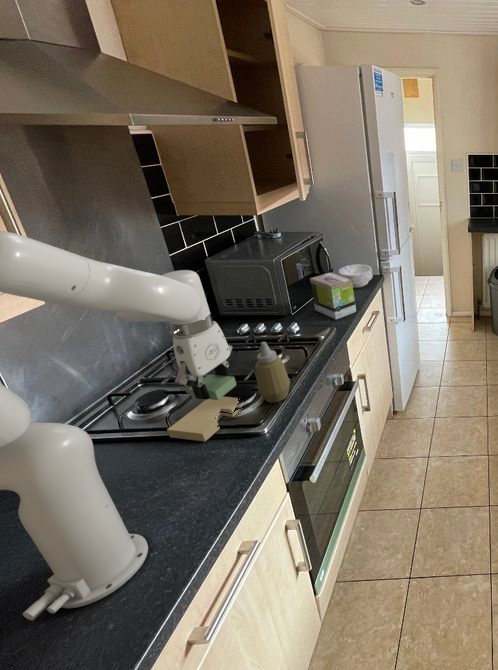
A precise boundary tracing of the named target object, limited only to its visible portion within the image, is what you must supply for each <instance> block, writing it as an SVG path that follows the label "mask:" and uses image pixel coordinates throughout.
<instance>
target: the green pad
mask: <svg viewBox="0 0 498 670" xmlns="http://www.w3.org/2000/svg"><path fill="white" fill-rule="evenodd" d="M194 381H196V376H194ZM203 384H205V385H206V387H207V390H208V394H209V397H210V398H209V399H212V400H219V399H220V398H221V397H222V396H223V397H225V396H226V394H228V393H229V392H230V391H231V390H233V389H234V388H235V387H236V386H238V385H237V381H236V378H235V376H231V375H230V376H220V375H216V374H207V375H206V376H203ZM183 387H184V390H185V392H186V393H187V394H190V396H191V398H194V399H197V398H196V397H195V395H194V392H193V389H192V386H187V385H183Z"/></svg>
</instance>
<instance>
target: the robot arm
mask: <svg viewBox="0 0 498 670" xmlns="http://www.w3.org/2000/svg"><path fill="white" fill-rule="evenodd" d="M200 278H201V277H200V276H199V274H198V273H197V272H195V271H194V270H190V269H181V270H180V269H179V270H174V271H170V272H166V273H163V274H157V273H153V272H147V271H143V270H138V269H134V268H130V267H126V266H122V265H118V264H113V263H109V262H103V261H99V260H96V259H91V258H88V257H86V256H83V255H80V254H77V253H74V252H71V251H69V250H66V249H63V248H60V247H56V246H53V245H51V244H48V243H45V242H42V241H39V240H37V239H33V238H31V237H27V236H25V235H21V234H18V233H14V232H11V231H4V230H0V293H1V294H7V295H11V296H16V297H22V298H27V299H31V300H36V301H40V302H45V303H49V304H53V305H58V306H62V307H66V308H71V309H80V310H90V311H107V312H108V311H110V312H111V311H113V312H114V313H115V314H116V316H118V317H119V318H120V319H123V320H124V321H127V322H132V323H133V322H135V323H169V326H170V328H171V330H169V331H168V334H169V335H170V336H171V337H172V346H173V352H174V357H175V360H176V364H177V367H178V372H177V374H176V377H175V380H174V383H175V384H176V385H177V384H178V385H182V386H184V385H187V386H192V389H193V392H194V395H195V397H196V398H195V399H198V400H204V401H205V400H207V399H209V398H210V397H209V394H208V390H207V387H206V385H205V384H203V377H204V376H205V375H206V374H208V373H209V372H211V371H212V370H214V374H215V375H220V376H231V375H230V371H229V367H230V363H229V361H230V358H231V353H232V351H233V345H230V344H228V341H227V339H226V337H225V334H224V332H223V330H222V329H221V327H220V325H219V324H218V322H216V321H215V320H213V316H212V313H211V311H210V307H209V304H208V301H207V296H206V293H205V290H204V288H203V287H204V286H203V285H202V281H201V279H200ZM194 377H196V381H194ZM31 419H32V415H31V409H30V407H29V405H28V404H27V402H26V401H25V400H24V399H23V398H22V397H21V396H20V395H18V394H17V393H16V392H14V391H13V390H11V389H9V388H8V387H7V386H6V385H4V384H2V383H1V382H0V491H12V492H14V493H16V494H17V495H18V496H19V505H18V509H17V511H18V512H17V514H18V518H19V521H20V522H21V524H22V526H23V528H24V529H25V531H26V532H27V533H28V535H29V536H30V538H31V540H32V541H33V543H34V544H35V546H36V548H37V550H38V551H39V553H40V554H41V556H42V557H43V559H44V560H45V563H47V565H48V567H49V568H50V570H51V571H52V573H53V575H51V576H50V577H49V578H48V579H47V583H48V584H49V585H50V586H48V588H46V589H45V590H44V594H43V595H42V596H41V597H40V598H39V599H38V600H36V601H34V602H33V603H32V604H31V605H30V606H29V607H28V608H27V609H26V610H25V611H23V612H22V616H23V617H24V618H26V619H27V620H29V621H35V620H36V618H38V617H39V616H40V615H41V614H42V613H43V612H44V611H45V610H46V611H47V612H48V613H50V614H55V613H56V612H57V611H59V610H60V608H63V609H75V608H80V607H84V606H87V605H90V604H92V603H96V602H98V601H99V600H102V599H103V598H105V597H107V596H109V595H110V594H112V593H114V592H115V591H117V590H118V589H119V588H121V587H122V586H123V585H125V584H126V583H127V582H128V581H129V580H130V579H131V578H132V577H133V576H134V575H135V574H136V573H137V572H138V571H139V569H140V568H141V567H142V566H143V564H144V562H145V561H146V558H147V556H148V553H149V545H148V542H147V539H146V538H145V537H144V536H142V535H140V534H137V533H129V531H128V529H127V527H126V525H125V523H124V521H123V519H122V517H121V515H120V512H119V511H118V509H117V507H116V505H115V503H114V501H113V498H112V497H111V495H110V493H109V491H108V489H107V487H106V486H105V484H104V481H103V479H102V476H101V474H100V471H99V470H98V467H97V463H96V456H95V448H94V443H93V440H92V438H91V436H90V435H89V433H88V432H87V431H85V430H84V429H83V428H80V427H79V426H75V425H72V424H68V423H62V422H31Z"/></svg>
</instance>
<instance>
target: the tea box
mask: <svg viewBox="0 0 498 670" xmlns="http://www.w3.org/2000/svg"><path fill="white" fill-rule="evenodd" d="M309 282H310V288H311V292H312V293H311V294H312V299H313V305H314V309H315V311H316V312H318V313H321V314H323V315H324V316H327V317H329V318H331V319H334V320H339V319H342V318H344V317H347V316H349V315H352V314H354V313H356V312H357V307H356V300H355V293H354V292H355V291H354V288H353V285H352V279H349V278H346V277H343V276H340V275H338V273H335V272H331V271H329V272H327V273H324V274H323V273H322V274H320V275H317V276H313V277H310V278H309Z"/></svg>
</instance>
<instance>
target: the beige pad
mask: <svg viewBox="0 0 498 670" xmlns="http://www.w3.org/2000/svg"><path fill="white" fill-rule="evenodd" d="M238 398H239V397H231V396H222V397H221V398H220V399H219V400H212V399H207V400H205V399H204V401H202V402H201V403H200V404H198V405H197V406H196V407H194V408H193V409H192V410H191V411H189V412H188V413H186V414H185V415H184V416H183V417H182V418H180V419H179V420H177V421H176V422H175V423H173V424H172V425H171V426H170V427H168V428H167V429H166V432H167V433H168V436H169V438H172V439H179V440H180V439H181V440H190V441H197V442H198V441H199V442H206V441H208V440H209V439H210V438H211V437H213V435H215V433H217V432H218V431H219V430H220V429H221V428H220V426H218V425H219V420H220V419H222V418H223V417H231V418H234V417H235V416H236V415H237V414H238V413H240V412H241V411H242V410H243V409H244V408H241V409H238V410H236V411H235V412H234V410H235V408H236V406H237V404H238V403H239V401H238ZM239 400H240V399H239ZM221 411H224V412H228V413H233V412H234V413H233V414H228V413H222V414H220V415H219V416H218V414H219V413H220V412H221ZM216 416H218V417H217V418H216V419H215V417H216ZM217 426H218V427H217Z"/></svg>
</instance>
